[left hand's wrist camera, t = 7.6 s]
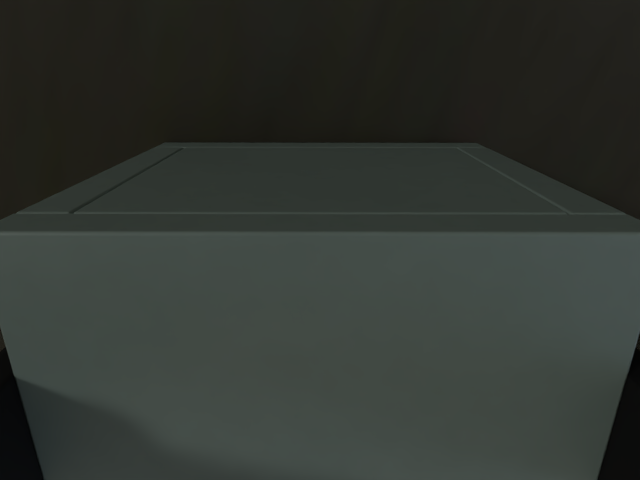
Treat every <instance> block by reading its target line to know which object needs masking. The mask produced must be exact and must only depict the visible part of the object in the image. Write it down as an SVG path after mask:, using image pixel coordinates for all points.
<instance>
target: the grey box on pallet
mask: <svg viewBox="0 0 640 480" xmlns="http://www.w3.org/2000/svg"><path fill="white" fill-rule="evenodd" d="M0 328H1V331H2V335H3V338H4V342H5V345H6V349H7V352H8V356H9V360H10V363H11V367H12V370H13V374H14V377H15V381H16V384H17V388H18V391H19V395H20V399H21V402H22V406H23V409H24V413H25V416H26V420H27V423H28V427H29V430H30V434H31V438H32V441H33V445H34V448H35V452H36V455H37V459H38V462H39V466H40V469H41V473H42V477H43V480H598V477H599V473H600V470H601V466H602V463H603V459H604V456H605V452H606V449H607V445H608V442H609V438H610V435H611V431H612V428H613V424H614V421H615V417H616V414H617V410H618V407H619V403H620V400H621V396H622V393H623V389H624V386H625V382H626V379H627V375H628V372H629V368H630V365H631V361H632V358H633V354H634V351H635V347H636V344H637V340H638V337H639V333H640V220H638V219H636V218H634V217H632V216H630V215H626V213H624V212H622V211H620V210H617V209H615V208H613V207H611V206H609V205H607V204H605V203H603V202H601V201H598V200H596V199H594V198H592V197H590V196H588V195H586V194H584V193H582V192H580V191H577V190H575V189H573V188H571V187H569V186H567V185H565V184H563V183H561V182H558V181H556V180H554V179H552V178H550V177H548V176H546V175H544V174H542V173H539V172H537V171H535V170H533V169H531V168H529V167H527V166H525V165H523V164H520V163H518V162H516V161H514V160H512V159H510V158H508V157H506V156H504V155H501V154H499V153H497V152H495V151H493V150H491V149H489V148H486V147H484V146H482V145H480V144H477V143H163V144H161V145H159V146H157V147H154V148H152V149H150V150H148V151H146V152H144V153H142V154H139V155H137V156H135V157H133V158H131V159H129V160H127V161H125V162H123V163H120V164H118V165H116V166H114V167H112V168H110V169H108V170H106V171H104V172H101V173H99V174H97V175H95V176H93V177H91V178H89V179H87V180H85V181H82V182H80V183H78V184H76V185H74V186H72V187H70V188H68V189H65V190H63V191H61V192H59V193H57V194H55V195H53V196H51V197H49V198H46V199H44V200H42V201H40V202H38V203H36V204H34V205H32V206H30V207H27V208H25V209H23V210H21V211H19V212H17V213H16V214H12V215H10V216H8V217H6V218H4V219H1V220H0Z"/></svg>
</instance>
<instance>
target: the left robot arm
mask: <svg viewBox="0 0 640 480" xmlns="http://www.w3.org/2000/svg"><path fill="white" fill-rule="evenodd" d="M0 480H43V477H42V473H41V469H40V466H39V462H38V459H37V455H36V452H35V448H34V445H33V441H32V438H31V434H30V430H29V427H28V423H27V420H26V416H25V413H24V409H23V406H22V402H21V399H20V395H19V391H18V388H17V384H16V381H15V377H14V374H13V370H12V367H11V363H10V360H9V356H8V352H7V349H6V347H5V348H4V349H3V350H2V351H1V352H0ZM598 480H640V351H639V350H638V349H637V348H635V351H634V354H633V358H632V361H631V365H630V368H629V372H628V375H627V379H626V382H625V386H624V389H623V393H622V396H621V400H620V403H619V407H618V410H617V414H616V417H615V421H614V424H613V428H612V431H611V435H610V438H609V442H608V445H607V449H606V452H605V456H604V459H603V463H602V466H601V470H600V473H599V477H598Z"/></svg>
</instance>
